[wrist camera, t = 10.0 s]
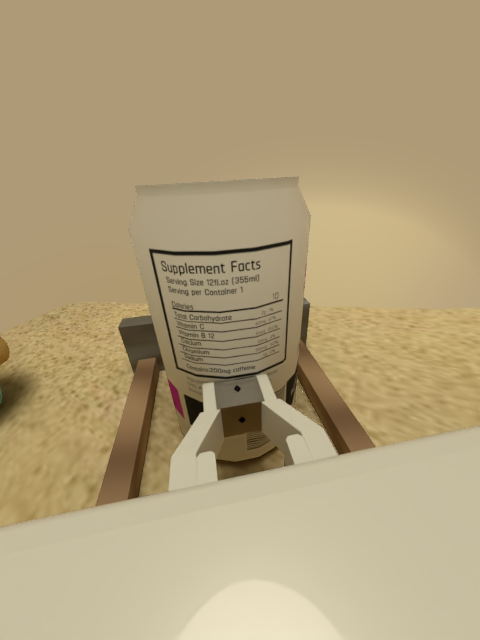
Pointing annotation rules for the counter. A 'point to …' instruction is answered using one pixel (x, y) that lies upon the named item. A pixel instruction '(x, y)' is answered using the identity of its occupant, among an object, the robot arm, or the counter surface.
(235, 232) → the supplement can
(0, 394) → the cupcake
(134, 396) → the u-shaped wooden rack
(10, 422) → the counter surface
